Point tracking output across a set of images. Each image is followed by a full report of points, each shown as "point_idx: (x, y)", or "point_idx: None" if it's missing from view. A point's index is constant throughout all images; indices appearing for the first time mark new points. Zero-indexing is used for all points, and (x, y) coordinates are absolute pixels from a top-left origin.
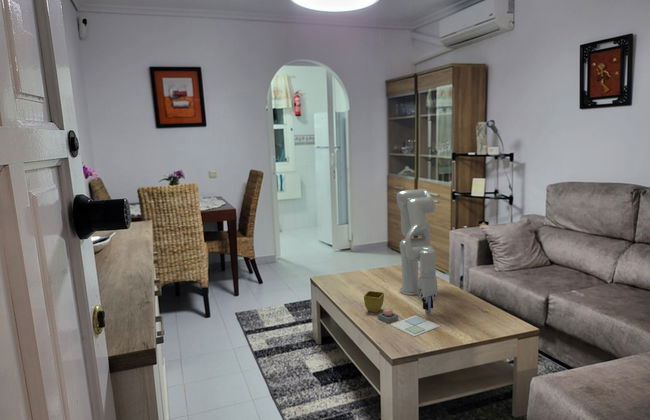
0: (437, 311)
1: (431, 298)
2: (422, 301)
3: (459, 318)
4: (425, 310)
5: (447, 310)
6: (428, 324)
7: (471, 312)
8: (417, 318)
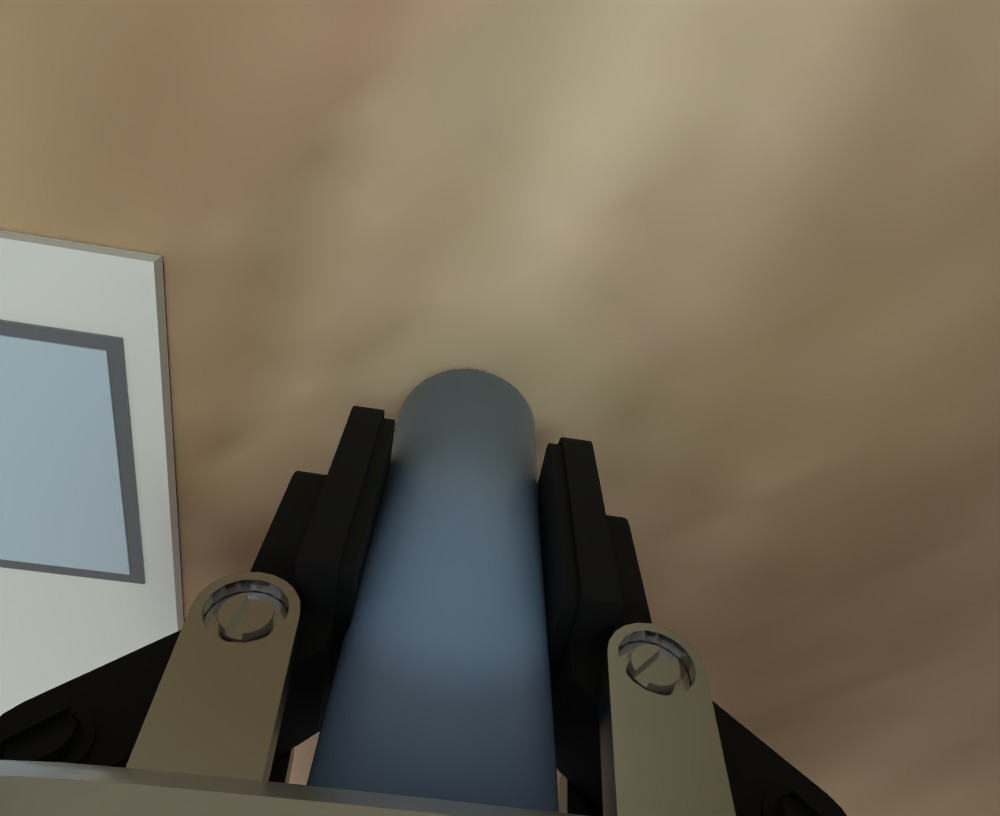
0: (732, 466)
1: (587, 785)
2: (210, 610)
3: None
4: (395, 434)
5: (882, 569)
6: (58, 663)
7: (960, 813)
8: (48, 407)
